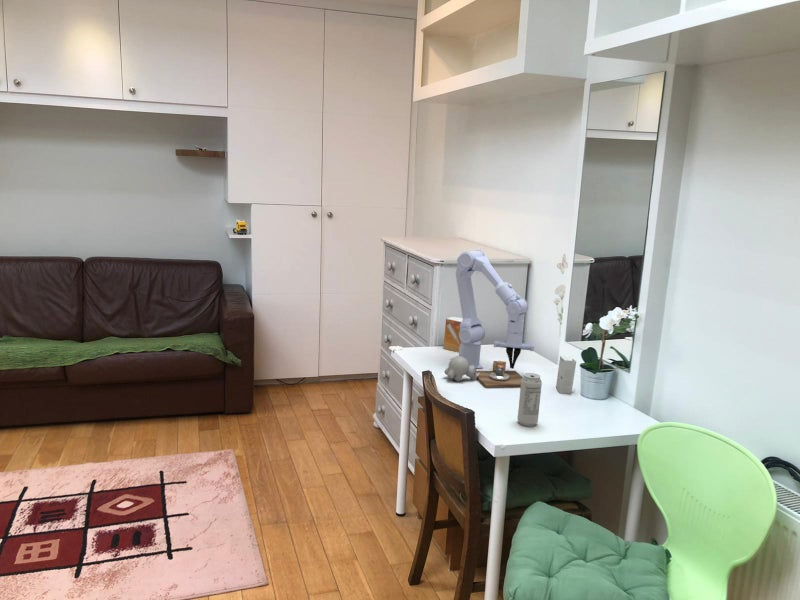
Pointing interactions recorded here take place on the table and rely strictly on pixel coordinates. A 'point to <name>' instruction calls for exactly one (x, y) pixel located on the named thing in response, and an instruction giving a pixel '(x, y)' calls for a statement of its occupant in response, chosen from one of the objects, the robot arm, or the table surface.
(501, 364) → the dial plate
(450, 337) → the small box
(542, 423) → the table surface
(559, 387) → the skincare box
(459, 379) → the chubby cartoon animal
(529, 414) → the energy drink can
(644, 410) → the table surface
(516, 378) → the walnut board
